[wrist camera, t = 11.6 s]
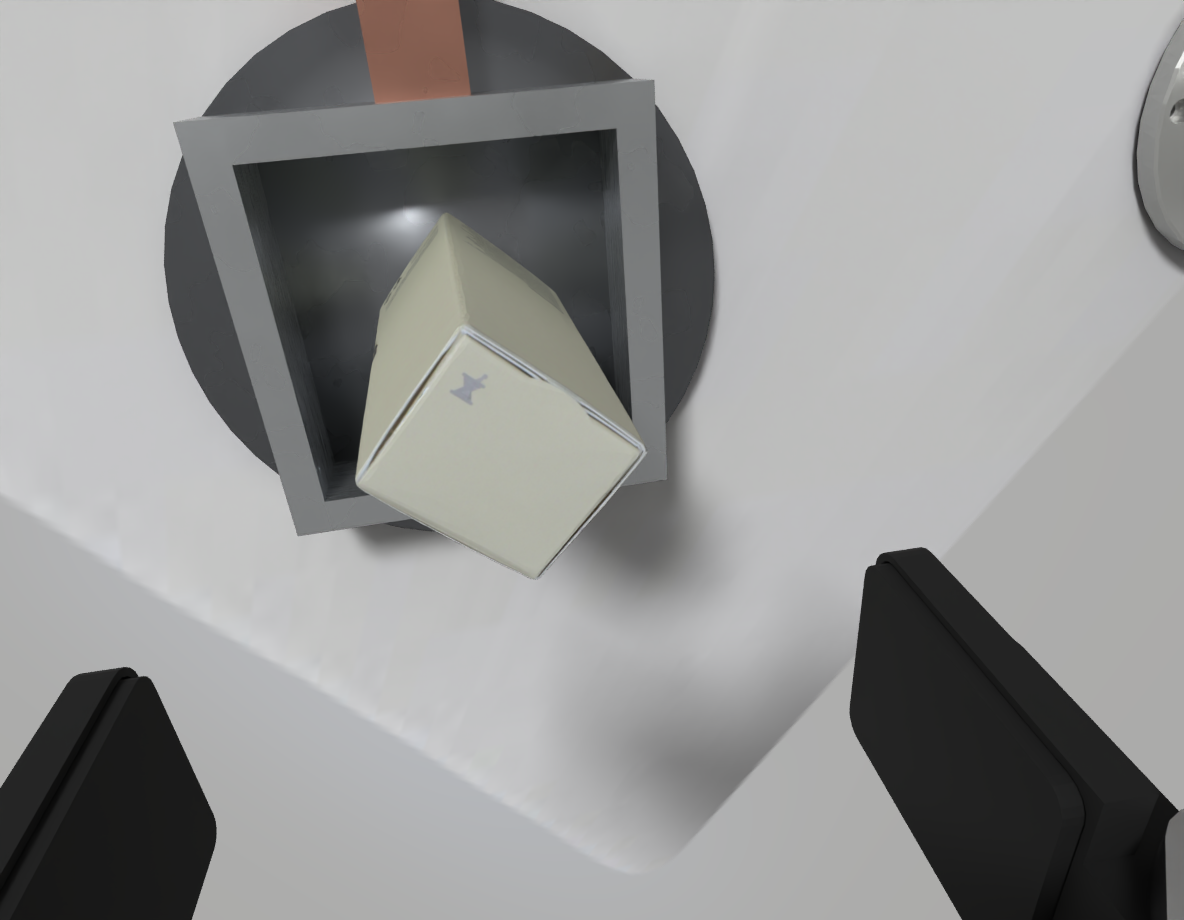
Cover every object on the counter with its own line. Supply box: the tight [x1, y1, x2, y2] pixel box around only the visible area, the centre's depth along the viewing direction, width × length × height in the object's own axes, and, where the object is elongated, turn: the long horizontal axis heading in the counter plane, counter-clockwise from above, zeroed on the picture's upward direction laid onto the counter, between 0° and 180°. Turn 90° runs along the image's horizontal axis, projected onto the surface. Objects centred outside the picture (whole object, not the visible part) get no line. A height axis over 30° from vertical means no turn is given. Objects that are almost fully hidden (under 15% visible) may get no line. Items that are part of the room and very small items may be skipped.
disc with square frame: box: [164, 0, 714, 536], centre depth 26 cm, size 19×22×4 cm
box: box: [355, 213, 648, 579], centre depth 22 cm, size 5×4×13 cm
